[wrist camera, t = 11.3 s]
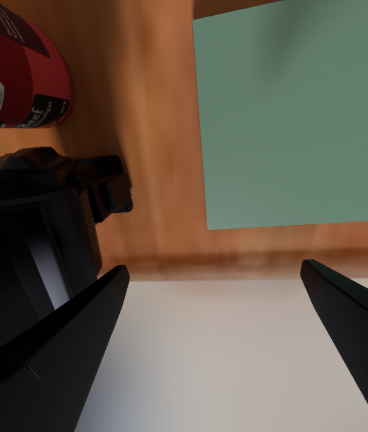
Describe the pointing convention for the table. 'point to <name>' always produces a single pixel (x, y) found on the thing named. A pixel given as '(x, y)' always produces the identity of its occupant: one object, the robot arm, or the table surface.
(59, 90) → the canned food
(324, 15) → the putting board
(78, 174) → the robot arm
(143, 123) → the table surface
